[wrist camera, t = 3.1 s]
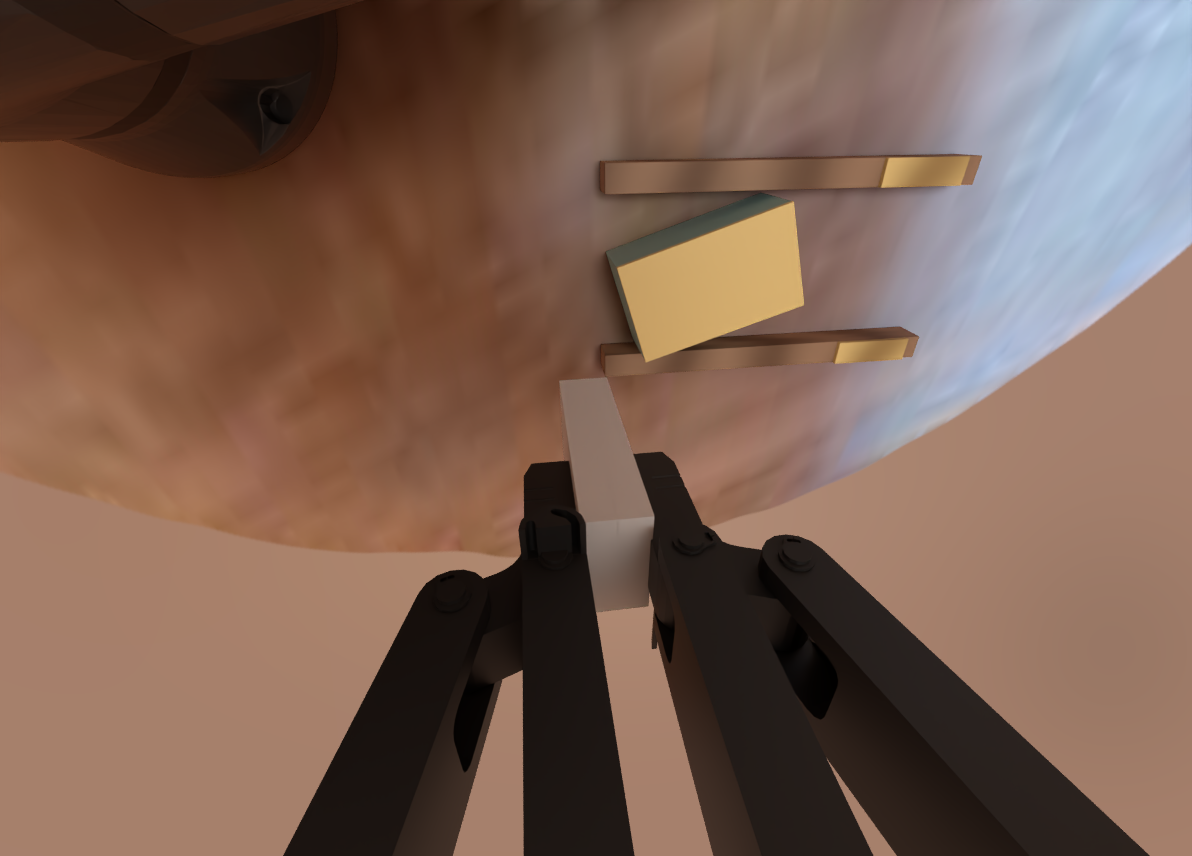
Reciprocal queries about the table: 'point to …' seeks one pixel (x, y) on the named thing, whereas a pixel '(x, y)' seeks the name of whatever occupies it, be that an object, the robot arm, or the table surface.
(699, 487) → the table surface
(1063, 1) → the table surface
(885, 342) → the beam slot
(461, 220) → the table surface
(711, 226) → the block
